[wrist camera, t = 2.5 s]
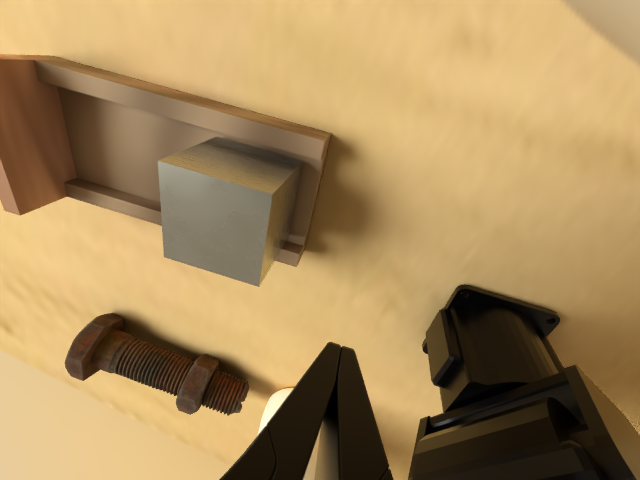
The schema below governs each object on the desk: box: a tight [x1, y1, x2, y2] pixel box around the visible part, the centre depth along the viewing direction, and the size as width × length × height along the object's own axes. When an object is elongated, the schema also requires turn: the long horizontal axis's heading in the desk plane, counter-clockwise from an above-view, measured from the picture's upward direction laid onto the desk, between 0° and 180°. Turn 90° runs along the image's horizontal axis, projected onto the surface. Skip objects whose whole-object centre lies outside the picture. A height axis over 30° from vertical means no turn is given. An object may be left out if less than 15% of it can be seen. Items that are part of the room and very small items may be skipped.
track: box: [0, 54, 331, 267], centre depth 17 cm, size 17×8×5 cm, turn 77°
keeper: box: [158, 137, 303, 287], centre depth 16 cm, size 5×5×5 cm
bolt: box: [65, 313, 249, 415], centre depth 28 cm, size 6×5×15 cm
